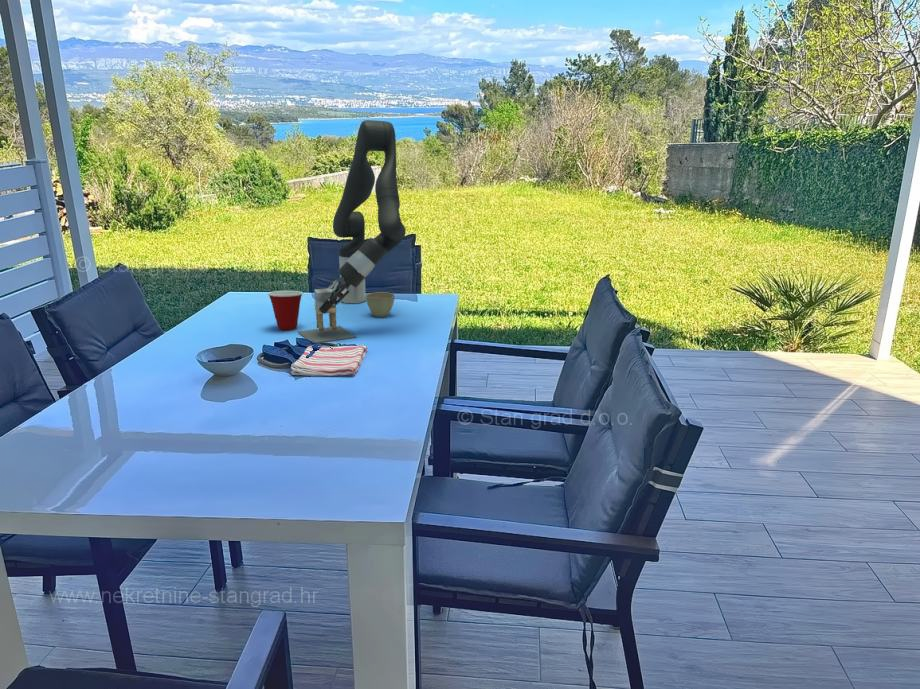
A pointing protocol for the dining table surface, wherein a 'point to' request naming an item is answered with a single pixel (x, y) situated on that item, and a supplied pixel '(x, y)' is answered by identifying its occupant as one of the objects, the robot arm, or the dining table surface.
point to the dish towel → (330, 361)
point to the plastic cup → (286, 308)
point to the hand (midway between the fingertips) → (319, 309)
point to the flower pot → (380, 303)
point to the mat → (326, 334)
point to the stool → (320, 299)
